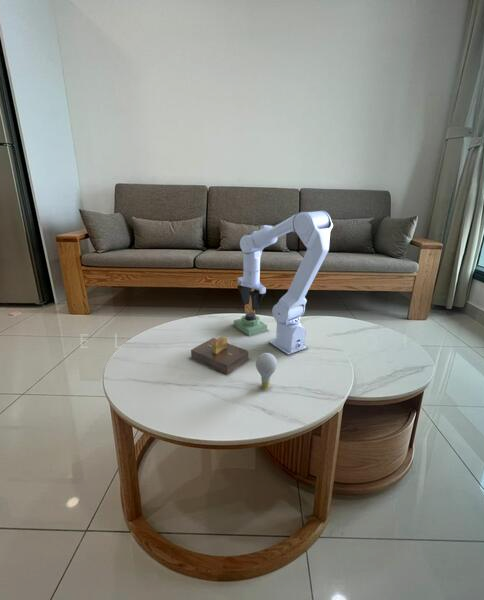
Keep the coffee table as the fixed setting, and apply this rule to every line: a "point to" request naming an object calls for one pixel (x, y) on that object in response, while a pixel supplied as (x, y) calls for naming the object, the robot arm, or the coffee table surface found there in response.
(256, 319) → the block
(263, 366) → the light bulb
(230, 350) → the plate
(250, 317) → the alarm button
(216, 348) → the thumb turn
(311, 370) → the coffee table surface
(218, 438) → the coffee table surface
